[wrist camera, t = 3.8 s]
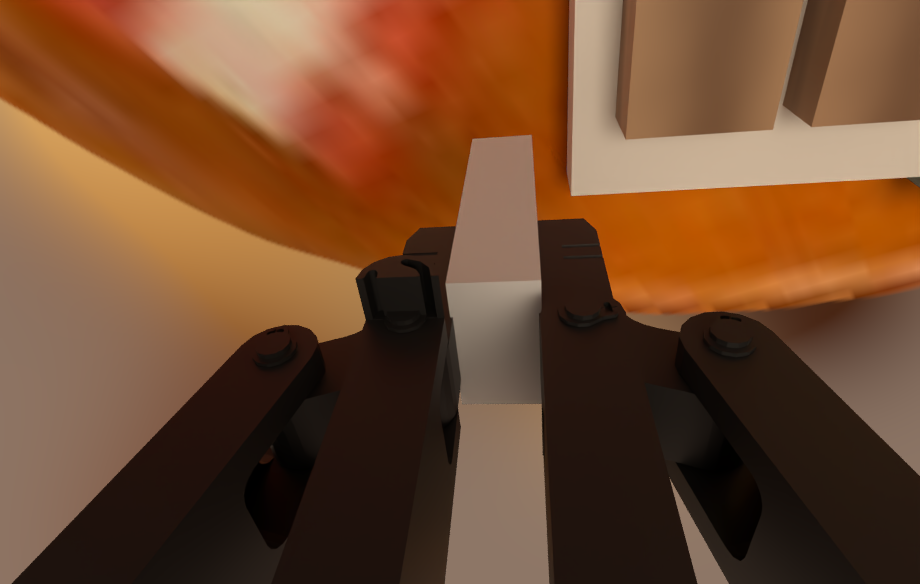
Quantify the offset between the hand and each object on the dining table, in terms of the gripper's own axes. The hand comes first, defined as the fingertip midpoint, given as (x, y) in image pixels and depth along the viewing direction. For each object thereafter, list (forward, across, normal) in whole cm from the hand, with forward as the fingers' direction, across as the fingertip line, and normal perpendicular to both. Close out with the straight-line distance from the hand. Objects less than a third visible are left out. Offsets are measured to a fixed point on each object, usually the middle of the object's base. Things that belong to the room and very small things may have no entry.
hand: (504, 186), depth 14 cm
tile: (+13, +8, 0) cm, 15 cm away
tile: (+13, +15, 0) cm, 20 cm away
